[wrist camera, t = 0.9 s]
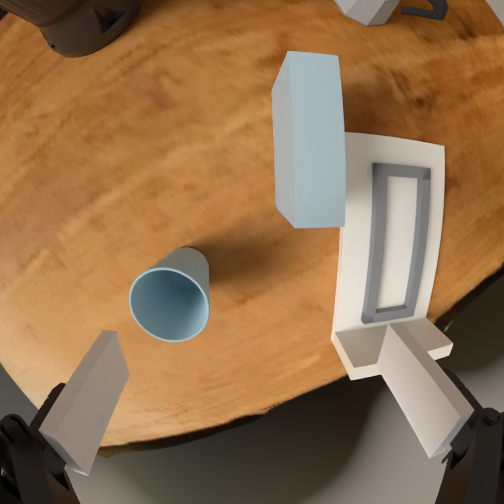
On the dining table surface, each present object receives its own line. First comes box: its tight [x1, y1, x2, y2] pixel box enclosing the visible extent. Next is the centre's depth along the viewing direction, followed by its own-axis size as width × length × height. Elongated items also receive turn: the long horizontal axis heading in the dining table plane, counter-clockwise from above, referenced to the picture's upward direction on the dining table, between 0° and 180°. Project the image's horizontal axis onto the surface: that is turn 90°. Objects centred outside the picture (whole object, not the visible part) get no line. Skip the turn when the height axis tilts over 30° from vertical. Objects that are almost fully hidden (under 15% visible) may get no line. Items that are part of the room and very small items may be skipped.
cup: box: [129, 247, 210, 342], centre depth 29 cm, size 8×8×10 cm
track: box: [331, 132, 453, 380], centre depth 30 cm, size 28×16×9 cm, turn 2°
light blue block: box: [272, 51, 346, 228], centre depth 25 cm, size 14×4×12 cm, turn 2°
